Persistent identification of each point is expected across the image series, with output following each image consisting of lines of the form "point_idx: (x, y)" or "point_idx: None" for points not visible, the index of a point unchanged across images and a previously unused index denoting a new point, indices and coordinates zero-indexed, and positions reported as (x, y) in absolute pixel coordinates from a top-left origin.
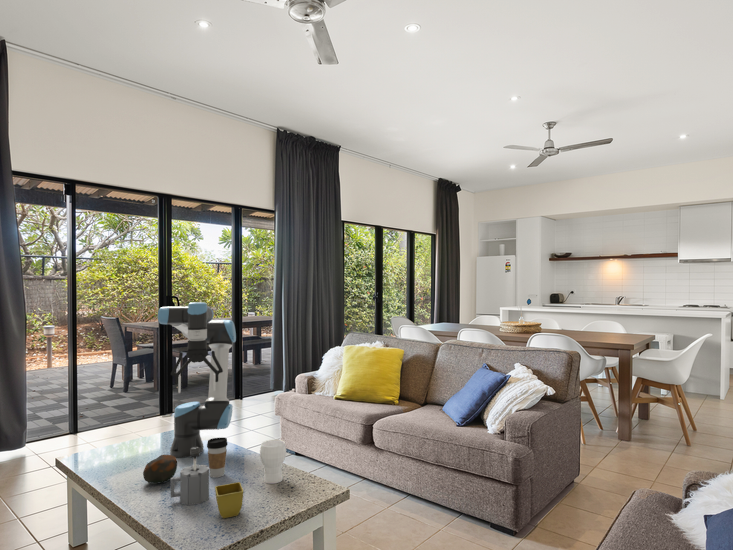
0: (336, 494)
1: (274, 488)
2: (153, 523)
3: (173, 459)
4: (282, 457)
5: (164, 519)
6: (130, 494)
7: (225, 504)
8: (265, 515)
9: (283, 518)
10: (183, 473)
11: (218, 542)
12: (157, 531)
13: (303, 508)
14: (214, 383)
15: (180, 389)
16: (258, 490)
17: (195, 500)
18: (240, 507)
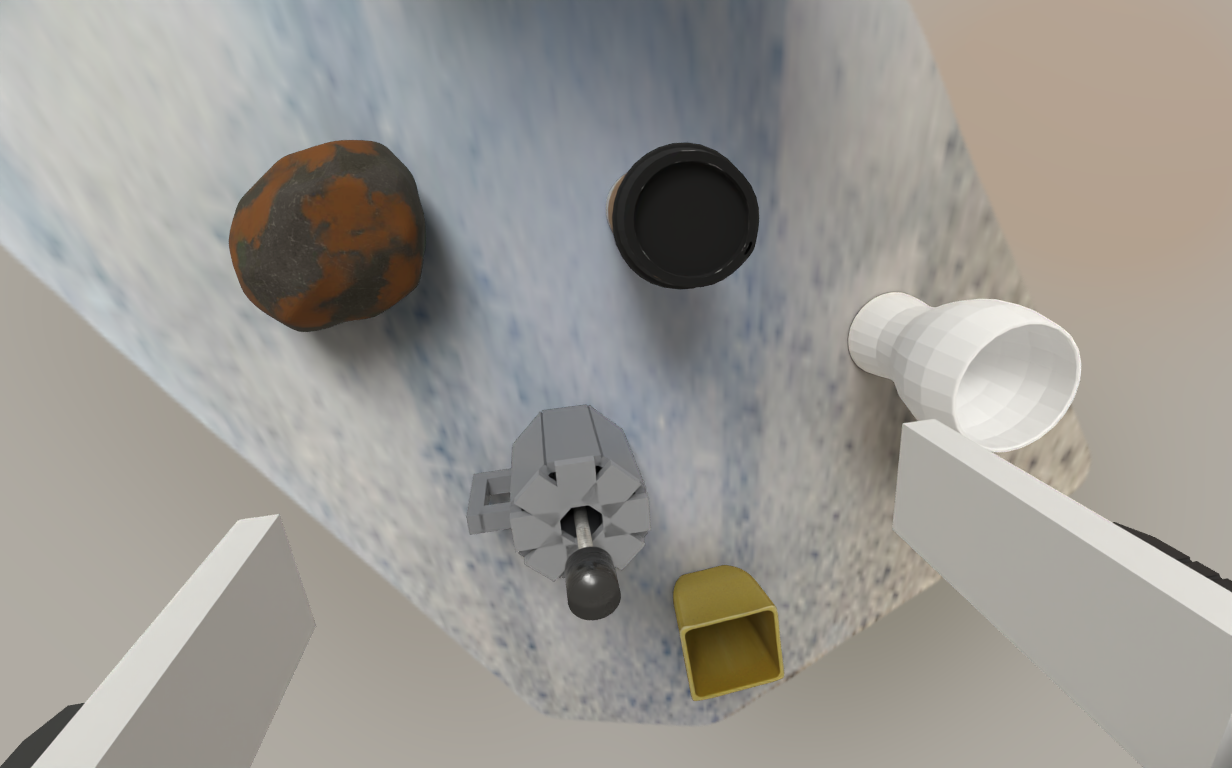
0: None
1: (876, 418)
2: (461, 616)
3: (396, 237)
4: (998, 409)
5: (491, 595)
6: (254, 365)
7: (709, 664)
8: (814, 605)
9: (860, 626)
10: (533, 562)
11: (678, 721)
12: (491, 661)
13: (930, 578)
14: (1004, 612)
15: (276, 614)
16: (815, 425)
17: None
18: (751, 632)
